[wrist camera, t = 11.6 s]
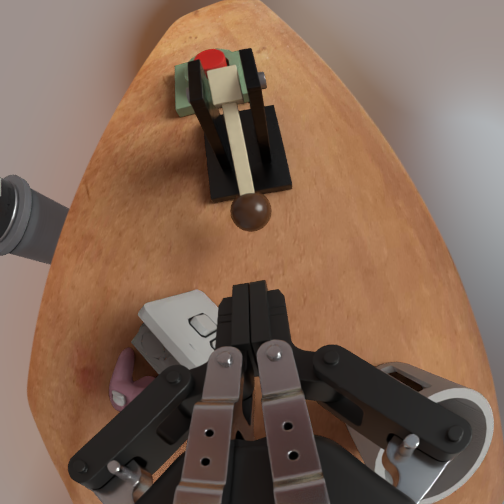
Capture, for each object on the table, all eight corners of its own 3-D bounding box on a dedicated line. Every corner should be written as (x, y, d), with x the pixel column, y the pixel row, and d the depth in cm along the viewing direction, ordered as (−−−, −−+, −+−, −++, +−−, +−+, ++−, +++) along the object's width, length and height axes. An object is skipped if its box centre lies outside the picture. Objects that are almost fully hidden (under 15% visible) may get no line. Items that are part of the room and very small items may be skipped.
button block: (179, 117, 34) (170, 100, 31) (178, 73, 36) (170, 56, 32) (262, 99, 33) (259, 80, 30) (252, 57, 35) (248, 38, 31)
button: (197, 82, 31) (193, 72, 29) (196, 62, 32) (192, 53, 30) (228, 75, 31) (225, 64, 29) (225, 55, 32) (222, 46, 30)
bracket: (292, 189, 31) (291, 113, 18) (213, 203, 31) (169, 138, 19) (274, 110, 33) (264, 25, 20) (205, 124, 33) (169, 46, 21)
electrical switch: (270, 357, 28) (251, 387, 19) (232, 392, 28) (200, 430, 19) (200, 287, 30) (154, 285, 21) (167, 323, 30) (114, 334, 21)
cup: (377, 461, 24) (413, 524, 12) (325, 406, 26) (346, 461, 14) (443, 402, 24) (508, 436, 13) (397, 343, 26) (459, 358, 15)
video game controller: (132, 376, 30) (102, 417, 24) (124, 342, 29) (89, 381, 22) (218, 392, 29) (201, 442, 22) (216, 357, 28) (195, 407, 21)
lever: (273, 222, 26) (275, 232, 23) (236, 228, 27) (233, 239, 23) (244, 71, 22) (242, 61, 19) (206, 79, 22) (198, 71, 19)
